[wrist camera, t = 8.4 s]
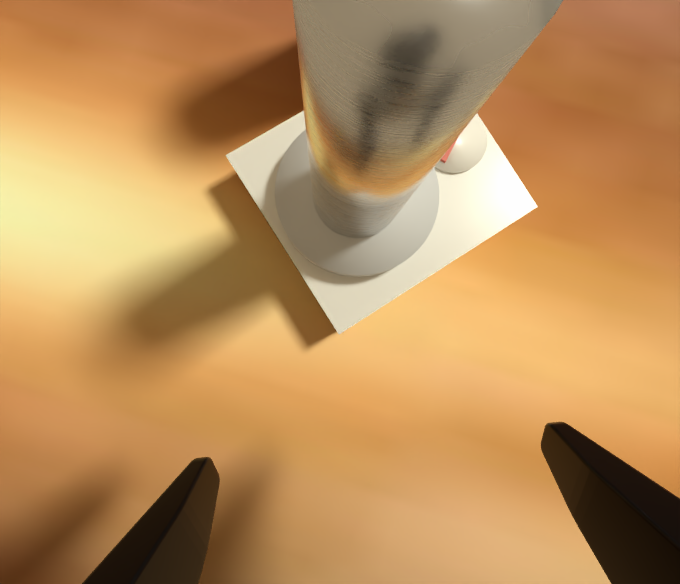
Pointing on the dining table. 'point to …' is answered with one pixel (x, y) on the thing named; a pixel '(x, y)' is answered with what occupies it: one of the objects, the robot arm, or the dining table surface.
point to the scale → (399, 236)
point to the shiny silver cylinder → (397, 92)
